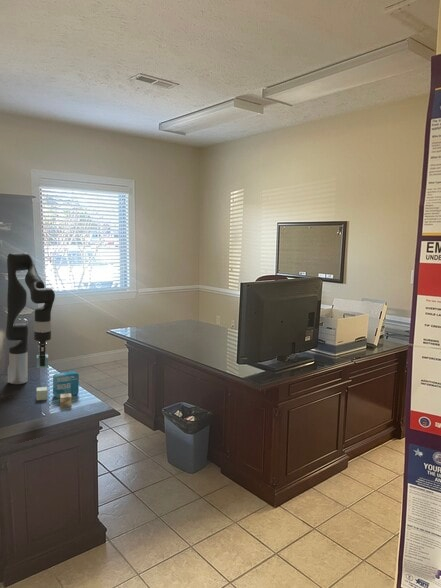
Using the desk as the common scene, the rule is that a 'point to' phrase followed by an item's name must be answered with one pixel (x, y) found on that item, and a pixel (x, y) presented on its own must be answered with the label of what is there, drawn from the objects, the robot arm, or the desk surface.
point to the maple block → (65, 400)
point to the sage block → (41, 393)
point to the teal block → (39, 362)
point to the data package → (65, 383)
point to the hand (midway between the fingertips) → (42, 364)
